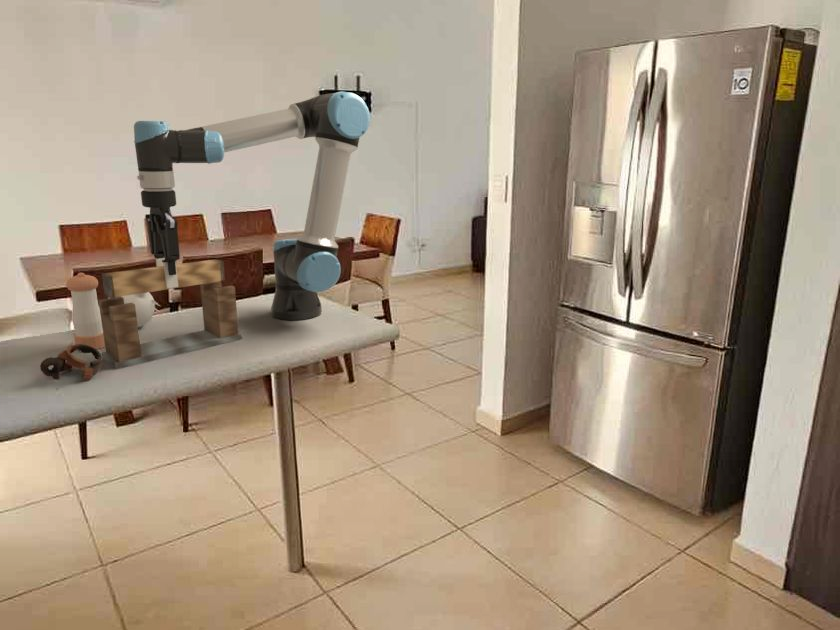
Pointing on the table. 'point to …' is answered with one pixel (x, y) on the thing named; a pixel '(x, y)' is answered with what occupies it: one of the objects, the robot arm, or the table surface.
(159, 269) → the bed rail
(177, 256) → the robot arm
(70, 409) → the table surface
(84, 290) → the pepper shaker
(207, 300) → the wooden u-shaped stand
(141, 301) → the cat head
